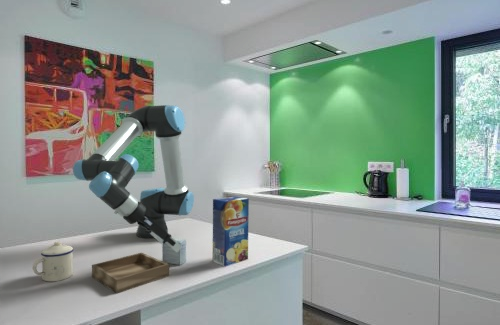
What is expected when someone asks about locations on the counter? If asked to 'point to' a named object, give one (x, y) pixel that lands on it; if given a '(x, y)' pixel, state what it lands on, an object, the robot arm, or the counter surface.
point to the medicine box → (174, 253)
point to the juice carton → (230, 230)
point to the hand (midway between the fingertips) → (171, 244)
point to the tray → (129, 272)
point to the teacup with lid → (56, 262)
